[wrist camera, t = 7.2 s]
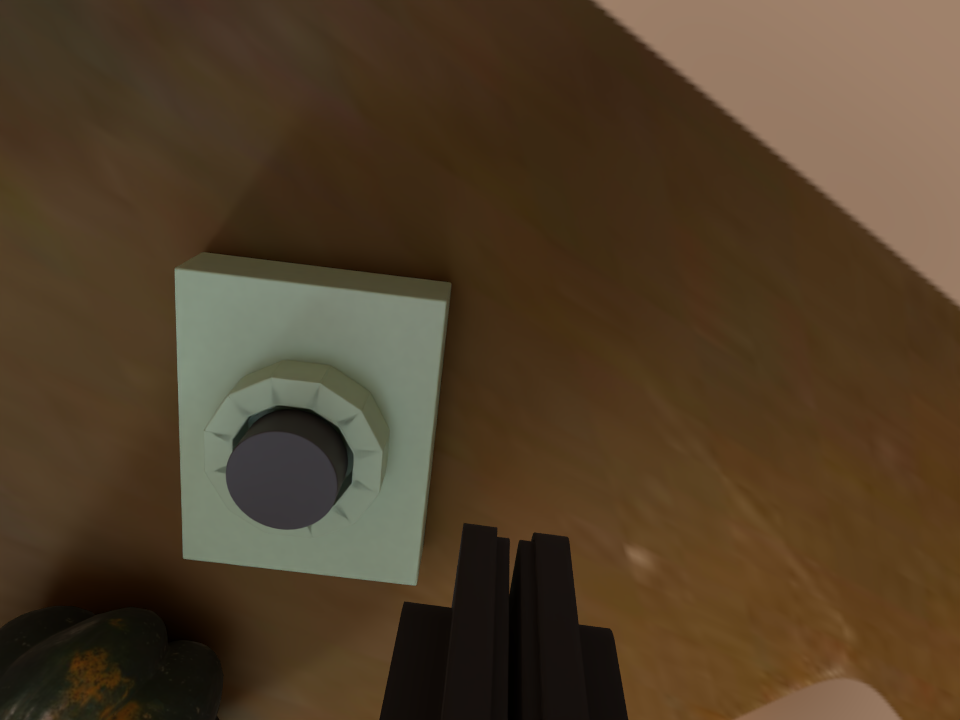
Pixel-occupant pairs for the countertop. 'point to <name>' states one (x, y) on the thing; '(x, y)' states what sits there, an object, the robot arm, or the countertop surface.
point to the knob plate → (310, 406)
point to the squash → (104, 668)
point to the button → (287, 469)
